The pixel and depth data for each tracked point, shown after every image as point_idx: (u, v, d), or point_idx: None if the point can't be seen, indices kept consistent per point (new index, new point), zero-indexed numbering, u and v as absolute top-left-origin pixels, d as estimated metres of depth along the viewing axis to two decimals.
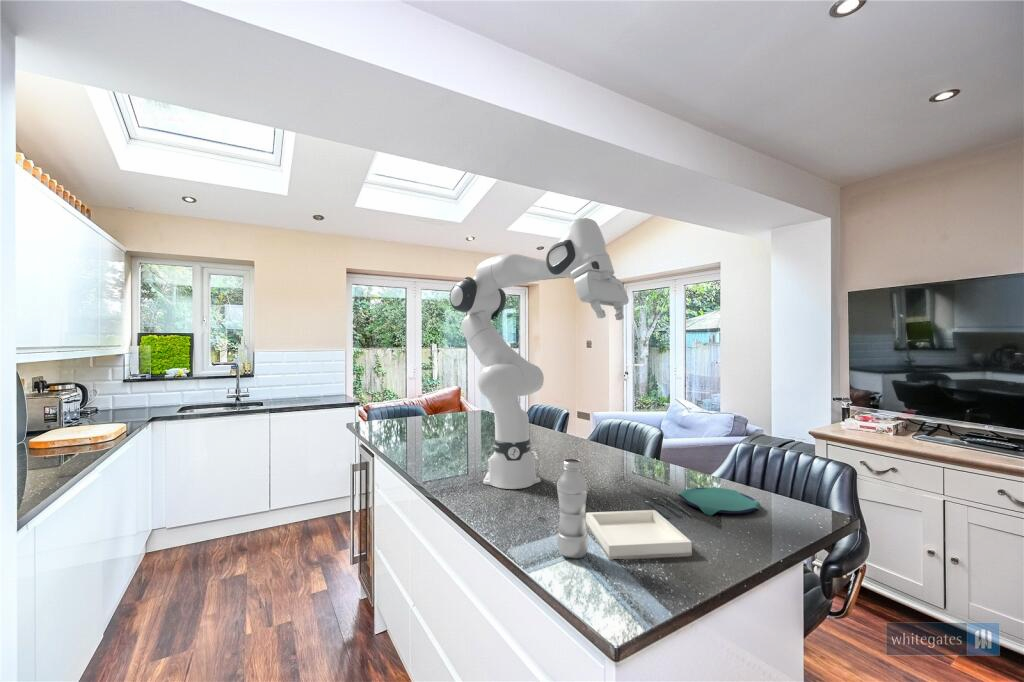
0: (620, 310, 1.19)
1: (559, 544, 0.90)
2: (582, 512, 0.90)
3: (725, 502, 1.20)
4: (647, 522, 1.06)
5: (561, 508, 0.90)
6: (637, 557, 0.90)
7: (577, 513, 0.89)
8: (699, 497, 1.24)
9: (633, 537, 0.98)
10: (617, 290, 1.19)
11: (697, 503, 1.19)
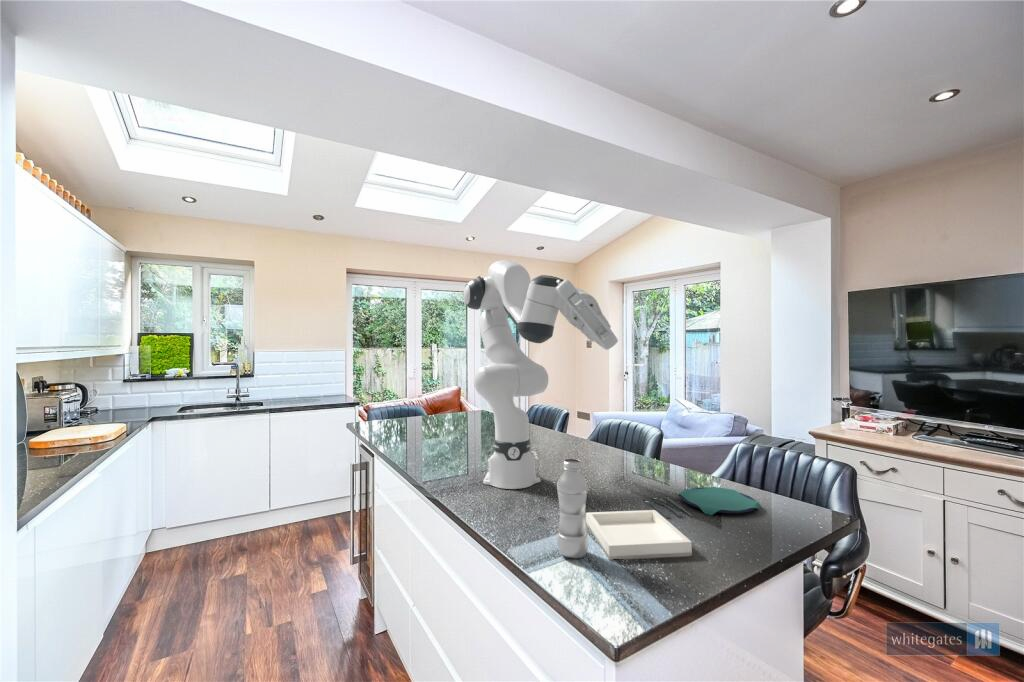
0: None
1: (559, 544, 0.90)
2: (582, 512, 0.90)
3: (725, 502, 1.20)
4: (647, 522, 1.06)
5: (561, 508, 0.90)
6: (637, 557, 0.90)
7: (577, 513, 0.89)
8: (698, 497, 1.24)
9: (633, 537, 0.98)
10: (568, 304, 1.04)
11: (697, 503, 1.19)
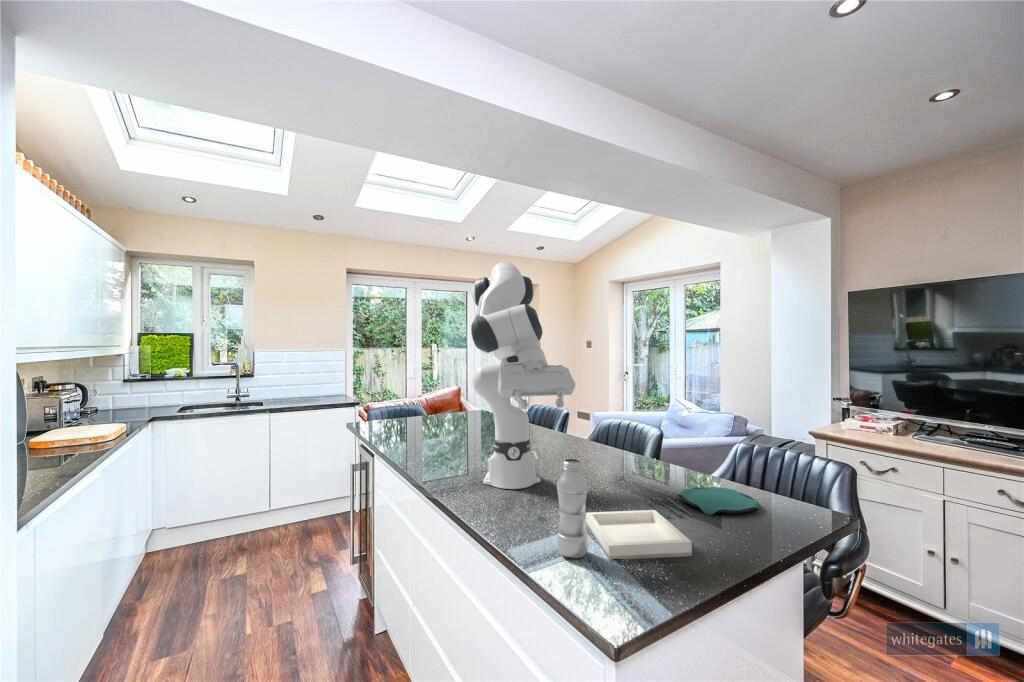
0: (560, 396, 1.09)
1: (559, 544, 0.90)
2: (582, 512, 0.90)
3: (725, 501, 1.20)
4: (647, 522, 1.06)
5: (561, 508, 0.90)
6: (637, 557, 0.90)
7: (577, 513, 0.89)
8: (698, 497, 1.25)
9: (633, 537, 0.98)
10: (554, 377, 1.12)
11: (697, 503, 1.20)
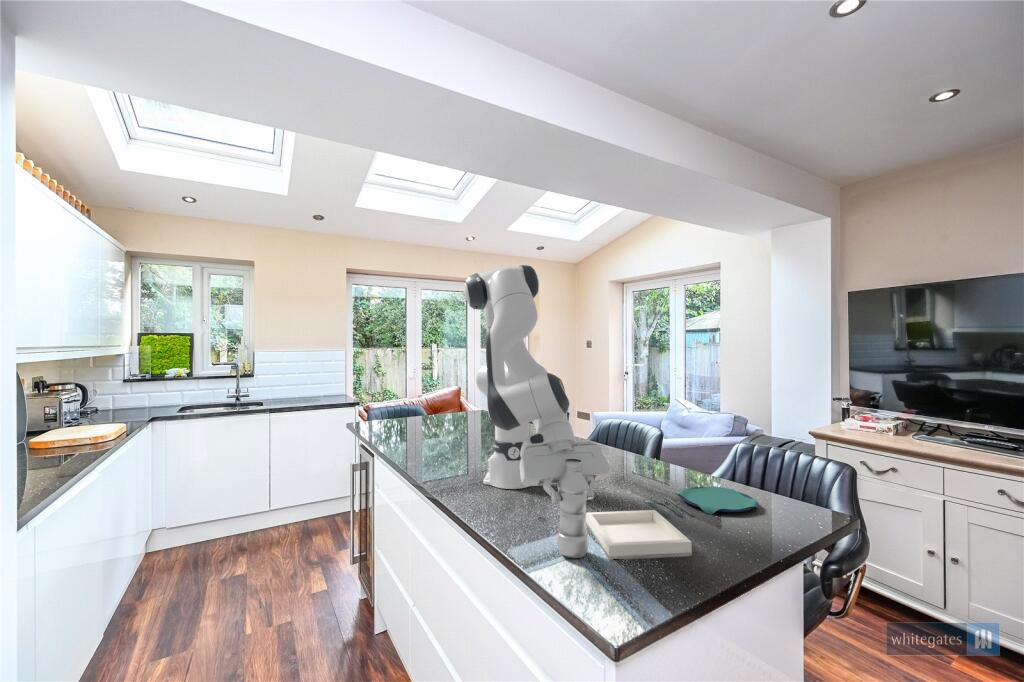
0: (589, 486, 0.93)
1: (559, 544, 0.90)
2: (582, 512, 0.90)
3: (724, 501, 1.21)
4: (647, 522, 1.06)
5: (562, 508, 0.90)
6: (637, 557, 0.90)
7: (578, 513, 0.89)
8: (697, 496, 1.25)
9: (633, 537, 0.98)
10: (585, 460, 0.96)
11: (696, 502, 1.20)
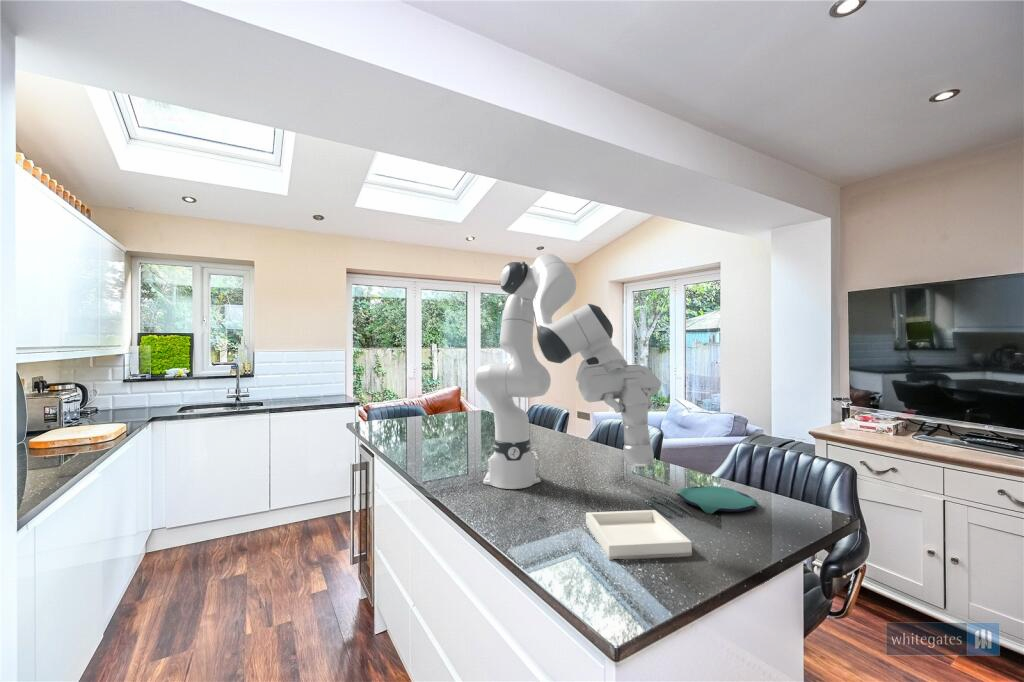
0: None
1: (626, 455, 0.96)
2: (646, 422, 0.97)
3: (723, 500, 1.21)
4: (647, 522, 1.06)
5: (625, 421, 0.97)
6: (637, 557, 0.90)
7: (641, 422, 0.96)
8: (697, 496, 1.25)
9: (633, 537, 0.98)
10: (638, 377, 1.05)
11: (696, 502, 1.20)
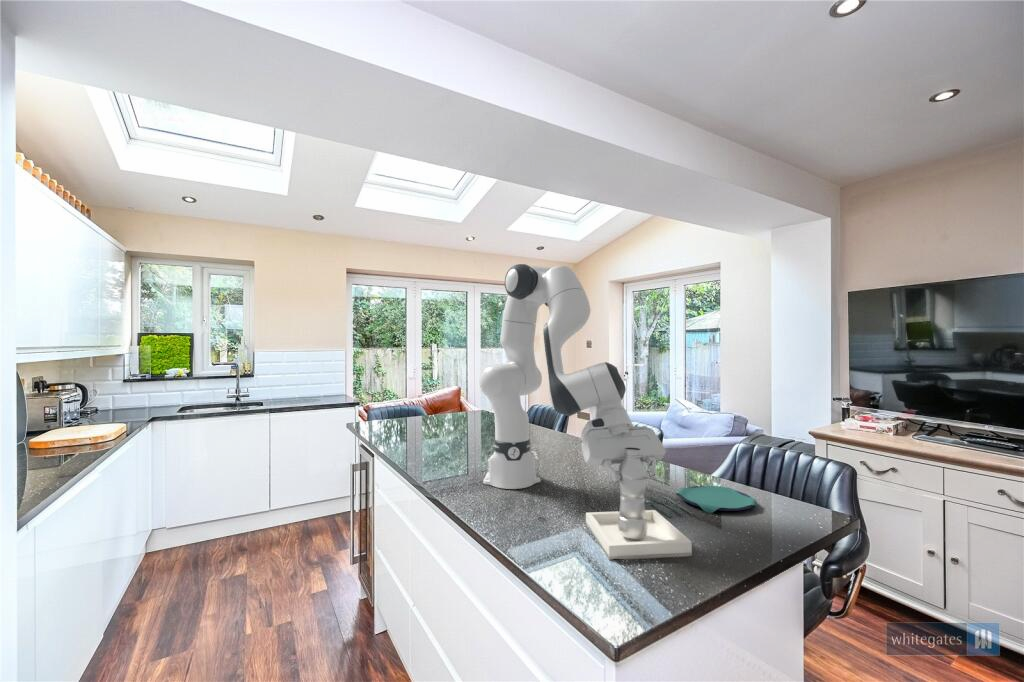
0: (651, 465, 1.01)
1: (620, 526, 0.97)
2: (642, 496, 0.96)
3: (722, 500, 1.22)
4: (647, 522, 1.06)
5: (622, 492, 0.97)
6: (637, 557, 0.90)
7: (638, 497, 0.96)
8: (696, 495, 1.26)
9: None
10: (643, 443, 1.04)
11: (696, 501, 1.21)
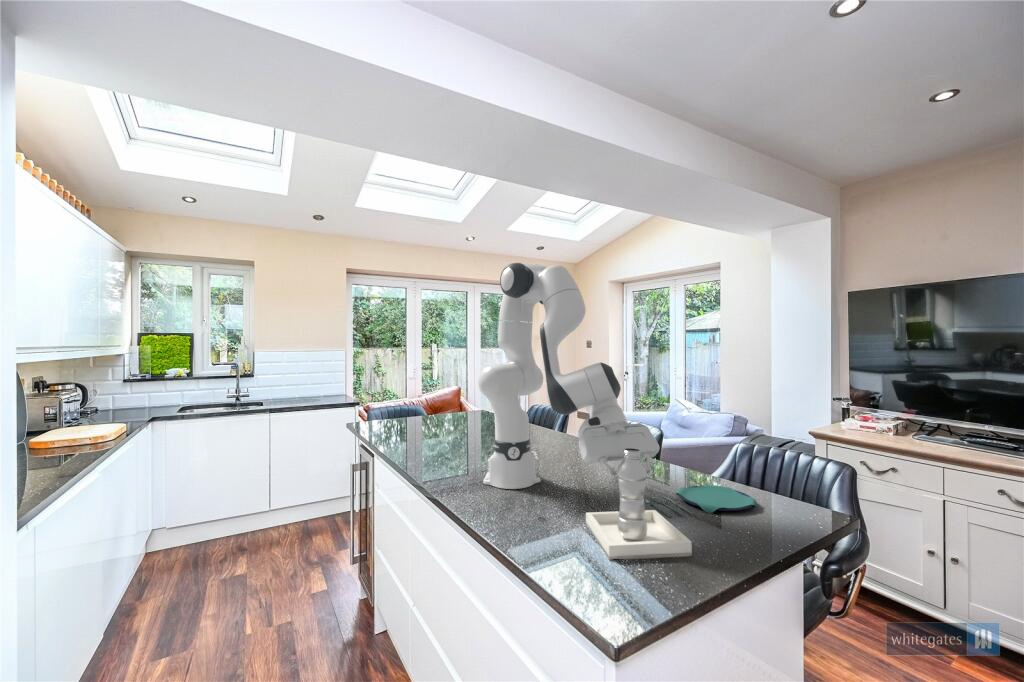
0: (646, 461, 1.05)
1: (620, 527, 0.97)
2: (642, 497, 0.96)
3: (722, 499, 1.22)
4: (647, 522, 1.06)
5: (622, 494, 0.97)
6: (637, 557, 0.90)
7: (637, 498, 0.95)
8: (696, 495, 1.26)
9: None
10: (637, 440, 1.08)
11: (696, 501, 1.21)
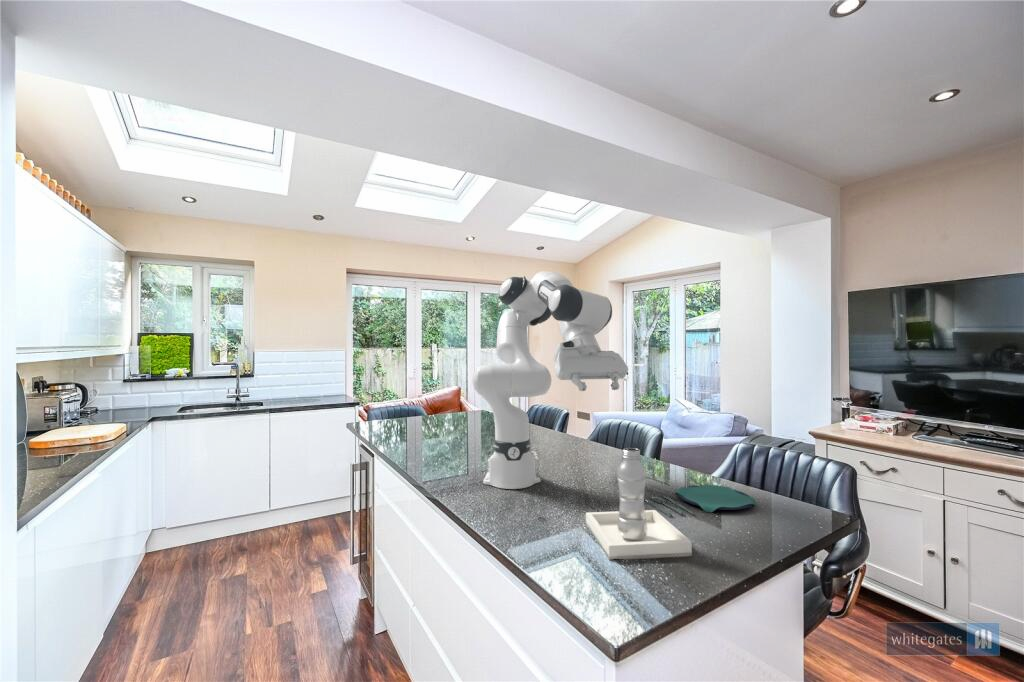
0: (615, 379, 1.15)
1: (620, 527, 0.97)
2: (642, 497, 0.96)
3: (721, 499, 1.22)
4: (647, 522, 1.06)
5: (621, 494, 0.97)
6: (637, 557, 0.90)
7: (637, 498, 0.95)
8: (695, 495, 1.26)
9: None
10: (608, 361, 1.18)
11: (695, 501, 1.21)
